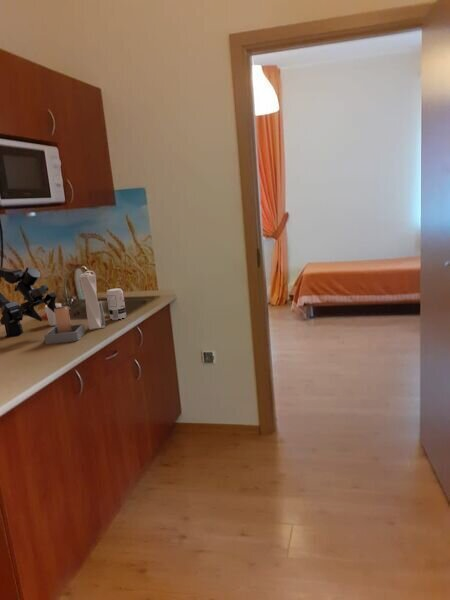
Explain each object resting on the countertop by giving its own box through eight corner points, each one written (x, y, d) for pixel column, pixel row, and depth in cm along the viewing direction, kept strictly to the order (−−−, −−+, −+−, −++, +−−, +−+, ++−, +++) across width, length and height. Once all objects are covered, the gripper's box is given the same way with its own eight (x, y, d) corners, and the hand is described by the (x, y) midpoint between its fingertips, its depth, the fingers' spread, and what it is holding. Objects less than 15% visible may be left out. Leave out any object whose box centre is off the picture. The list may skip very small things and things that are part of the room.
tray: (45, 344, 208) (44, 335, 207) (55, 335, 221) (53, 326, 221) (78, 340, 208) (76, 332, 207) (85, 332, 222) (84, 323, 221)
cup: (61, 338, 211) (56, 309, 208) (57, 336, 215) (52, 308, 213) (74, 335, 214) (69, 306, 211) (70, 333, 219) (65, 305, 216)
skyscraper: (104, 328, 224) (95, 270, 218) (86, 331, 223) (77, 272, 217) (106, 324, 233) (97, 267, 227) (89, 326, 232) (80, 269, 226)
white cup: (61, 325, 240) (57, 306, 238) (45, 326, 240) (42, 307, 238) (66, 321, 247) (63, 302, 245) (51, 322, 248) (48, 303, 246)
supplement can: (109, 318, 245) (105, 289, 242) (125, 315, 248) (121, 287, 245) (111, 321, 238) (107, 292, 235) (127, 318, 241) (123, 289, 237)
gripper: (16, 286, 207) (39, 313, 205) (50, 275, 222) (71, 300, 220) (9, 302, 213) (30, 328, 211) (42, 290, 228) (62, 314, 226)
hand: (49, 316), depth 217 cm, fingers open, 9 cm apart
